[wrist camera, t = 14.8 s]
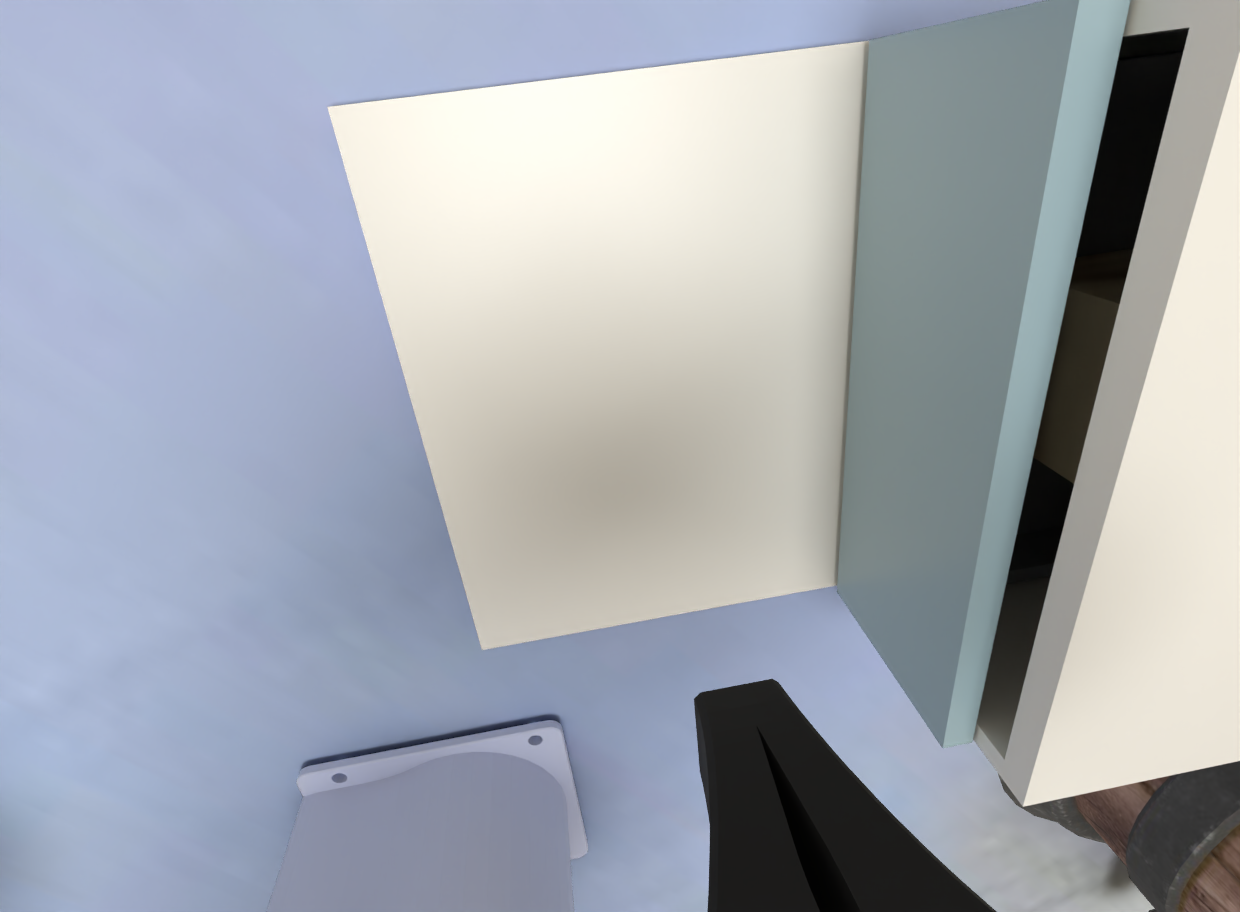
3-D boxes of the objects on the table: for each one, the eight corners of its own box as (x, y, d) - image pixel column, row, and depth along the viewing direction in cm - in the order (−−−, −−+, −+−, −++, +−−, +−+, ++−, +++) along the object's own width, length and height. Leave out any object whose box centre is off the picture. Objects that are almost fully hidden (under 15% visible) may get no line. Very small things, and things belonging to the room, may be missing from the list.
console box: (482, 641, 22) (463, 924, 14) (332, 107, 15) (120, 94, 7) (1145, 521, 24) (1450, 716, 16) (1318, -13, 16) (2050, -135, 8)
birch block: (980, 422, 19) (1116, 511, 15) (1004, 268, 17) (1171, 320, 13) (1121, 398, 20) (1296, 478, 15) (1163, 243, 17) (1380, 285, 13)
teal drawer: (836, 591, 22) (942, 748, 17) (869, 40, 15) (1080, -8, 9) (1139, 536, 23) (1335, 668, 18) (1316, -15, 16) (1758, -88, 10)
